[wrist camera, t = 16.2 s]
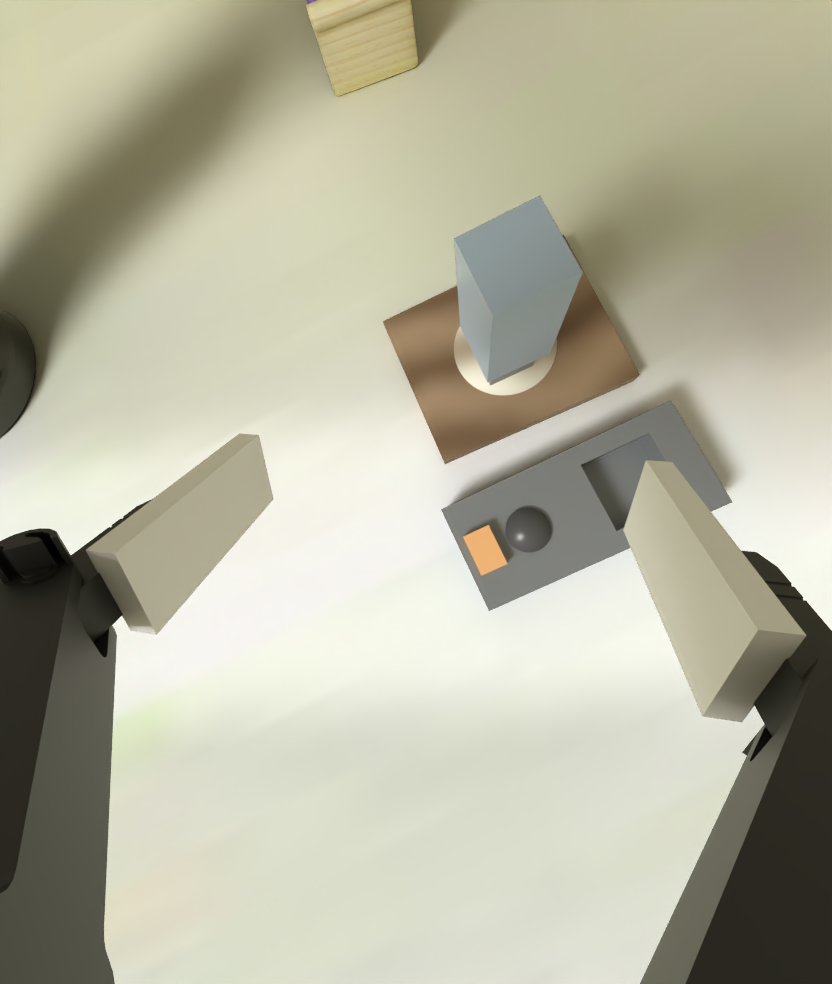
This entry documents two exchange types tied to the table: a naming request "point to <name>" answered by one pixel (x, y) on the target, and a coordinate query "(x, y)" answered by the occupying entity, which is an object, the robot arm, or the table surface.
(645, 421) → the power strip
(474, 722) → the table surface
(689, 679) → the robot arm
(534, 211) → the brick
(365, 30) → the toy sofa
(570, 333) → the walnut pad
